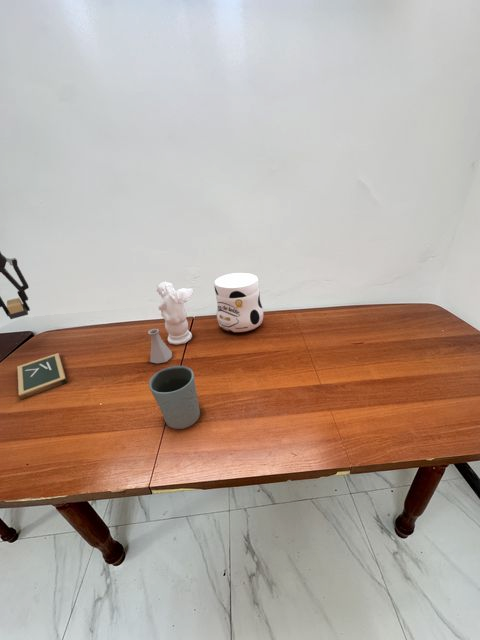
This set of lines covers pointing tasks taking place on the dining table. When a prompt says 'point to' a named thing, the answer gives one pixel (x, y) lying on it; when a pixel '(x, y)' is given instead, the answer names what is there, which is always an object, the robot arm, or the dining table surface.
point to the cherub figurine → (175, 312)
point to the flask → (158, 348)
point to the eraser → (16, 308)
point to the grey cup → (176, 396)
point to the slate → (40, 375)
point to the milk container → (238, 302)
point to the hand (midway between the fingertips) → (18, 312)
